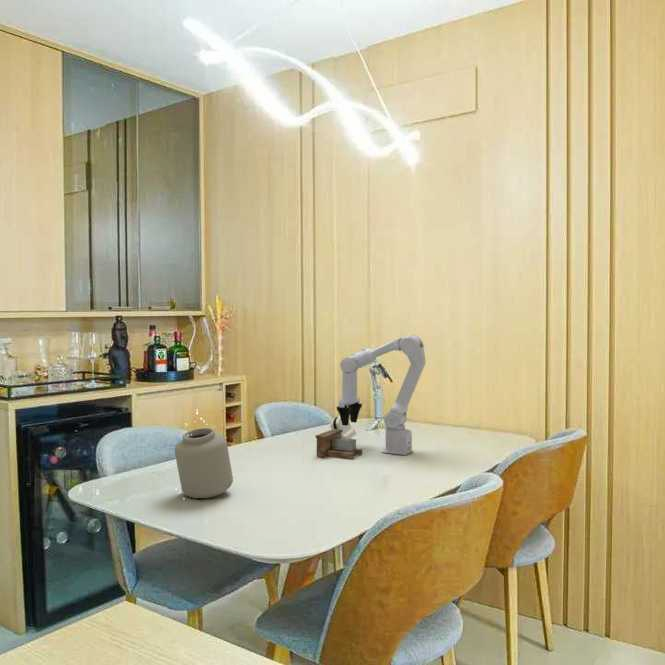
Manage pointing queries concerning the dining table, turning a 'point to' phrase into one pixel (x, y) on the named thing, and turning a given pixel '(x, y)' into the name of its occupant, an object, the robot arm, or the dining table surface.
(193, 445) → the jar
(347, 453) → the brown panel with bars
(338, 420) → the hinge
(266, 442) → the dining table surface
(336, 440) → the grey rectangular block
